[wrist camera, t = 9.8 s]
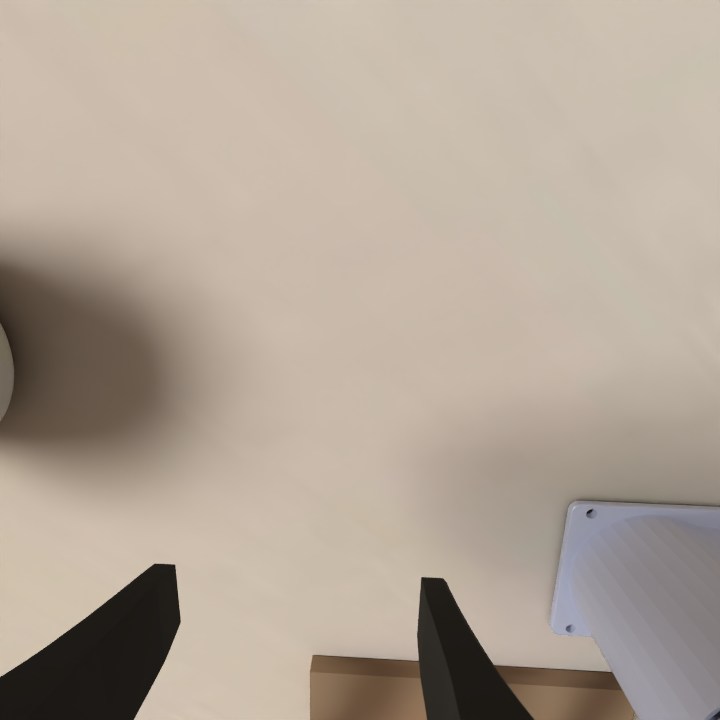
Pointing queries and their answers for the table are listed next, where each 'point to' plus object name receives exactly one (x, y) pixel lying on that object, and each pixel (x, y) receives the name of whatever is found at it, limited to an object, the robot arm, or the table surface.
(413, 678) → the board
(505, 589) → the table surface
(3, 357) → the teacup
